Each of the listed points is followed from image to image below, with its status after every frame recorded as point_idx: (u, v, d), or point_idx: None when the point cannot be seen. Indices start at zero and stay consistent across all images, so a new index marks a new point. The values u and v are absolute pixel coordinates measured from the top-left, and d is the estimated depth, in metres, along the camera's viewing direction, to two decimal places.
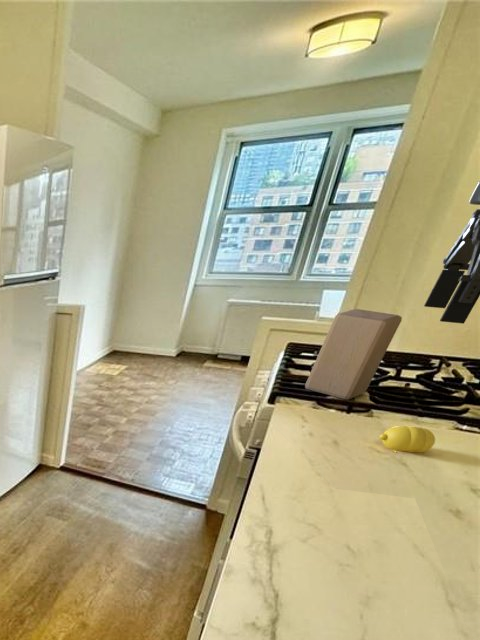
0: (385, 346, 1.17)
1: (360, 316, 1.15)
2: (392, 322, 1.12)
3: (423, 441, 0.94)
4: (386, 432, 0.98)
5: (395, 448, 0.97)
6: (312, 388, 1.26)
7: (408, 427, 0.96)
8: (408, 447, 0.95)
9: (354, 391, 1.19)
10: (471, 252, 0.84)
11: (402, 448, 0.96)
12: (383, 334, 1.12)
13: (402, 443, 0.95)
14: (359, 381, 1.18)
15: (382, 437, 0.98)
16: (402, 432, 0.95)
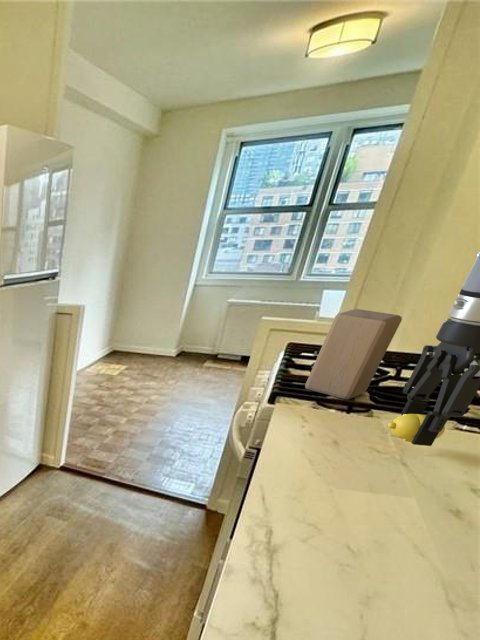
0: (385, 346, 1.17)
1: (360, 316, 1.15)
2: (392, 322, 1.12)
3: None
4: (394, 421, 0.96)
5: (404, 437, 0.95)
6: (312, 388, 1.26)
7: (417, 415, 0.94)
8: None
9: (354, 391, 1.19)
10: (434, 383, 0.93)
11: (411, 436, 0.94)
12: (383, 334, 1.12)
13: (411, 431, 0.94)
14: (359, 381, 1.18)
15: (391, 426, 0.96)
16: (411, 420, 0.94)
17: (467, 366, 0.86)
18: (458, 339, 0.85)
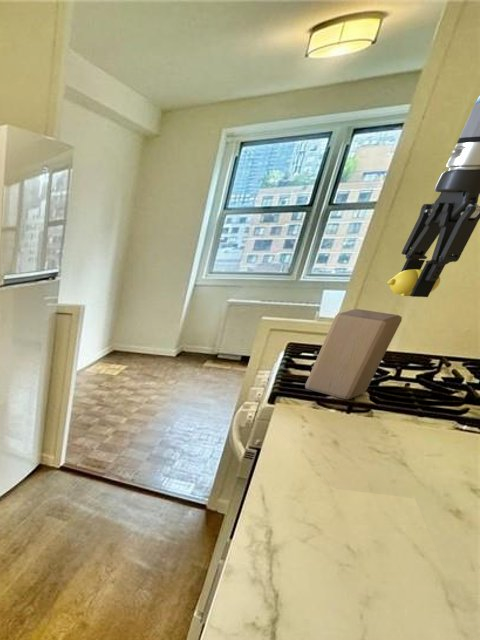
0: (385, 346, 1.17)
1: (360, 316, 1.15)
2: (392, 322, 1.12)
3: None
4: (394, 277, 1.03)
5: (403, 291, 1.02)
6: (312, 388, 1.26)
7: (415, 269, 1.01)
8: None
9: (354, 391, 1.19)
10: (432, 238, 1.00)
11: (409, 290, 1.01)
12: (383, 334, 1.12)
13: (409, 284, 1.01)
14: (359, 381, 1.18)
15: (390, 282, 1.03)
16: (409, 274, 1.01)
17: (463, 212, 0.93)
18: (455, 185, 0.92)
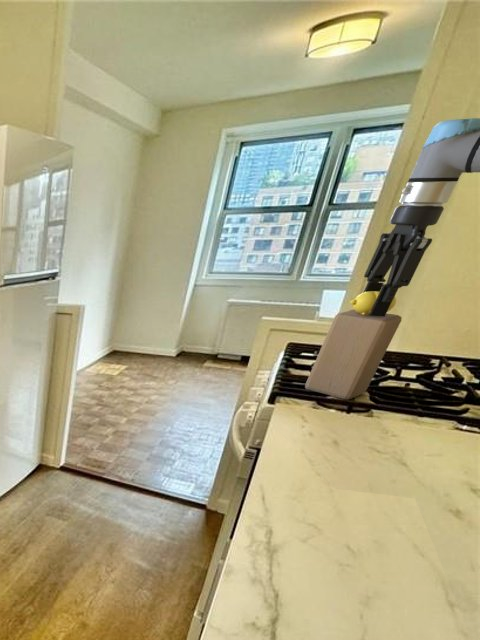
0: (385, 346, 1.17)
1: (360, 316, 1.15)
2: (392, 322, 1.12)
3: None
4: (356, 298, 1.16)
5: (363, 310, 1.15)
6: (312, 388, 1.26)
7: (374, 291, 1.14)
8: None
9: (354, 391, 1.19)
10: (389, 264, 1.13)
11: (369, 309, 1.14)
12: (383, 334, 1.12)
13: (368, 304, 1.14)
14: (359, 381, 1.18)
15: (352, 302, 1.16)
16: (368, 295, 1.14)
17: (413, 243, 1.06)
18: (406, 219, 1.05)
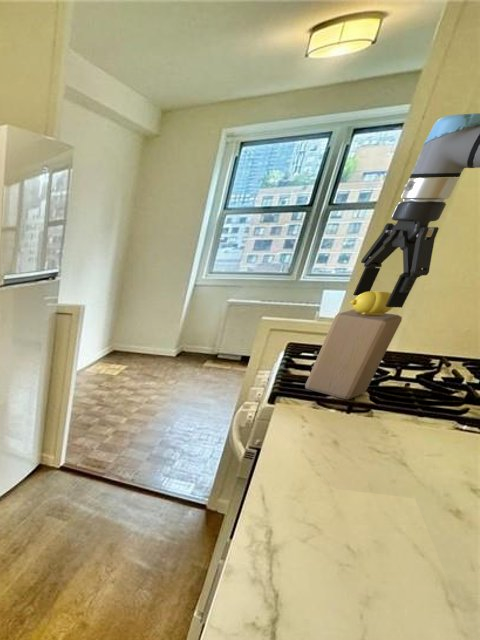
0: (385, 346, 1.17)
1: (360, 316, 1.15)
2: (392, 322, 1.12)
3: (385, 301, 1.12)
4: (356, 298, 1.16)
5: (363, 310, 1.15)
6: (312, 388, 1.26)
7: (373, 291, 1.14)
8: (374, 307, 1.14)
9: (354, 391, 1.19)
10: (386, 254, 1.14)
11: (369, 309, 1.14)
12: (383, 334, 1.12)
13: (369, 304, 1.14)
14: (359, 381, 1.18)
15: (352, 302, 1.16)
16: (368, 295, 1.14)
17: (415, 239, 1.06)
18: (408, 215, 1.04)
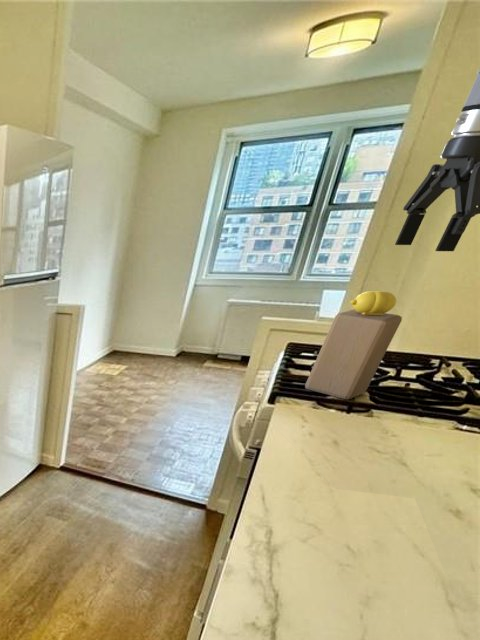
0: (385, 346, 1.17)
1: (360, 316, 1.15)
2: (392, 322, 1.12)
3: (386, 301, 1.12)
4: (356, 298, 1.16)
5: (363, 310, 1.15)
6: (312, 388, 1.26)
7: (374, 291, 1.14)
8: (374, 307, 1.14)
9: (354, 391, 1.19)
10: (433, 198, 1.07)
11: (369, 309, 1.14)
12: (383, 334, 1.12)
13: (369, 304, 1.14)
14: (359, 381, 1.18)
15: (352, 302, 1.16)
16: (368, 295, 1.14)
17: (468, 176, 0.99)
18: (460, 151, 0.98)
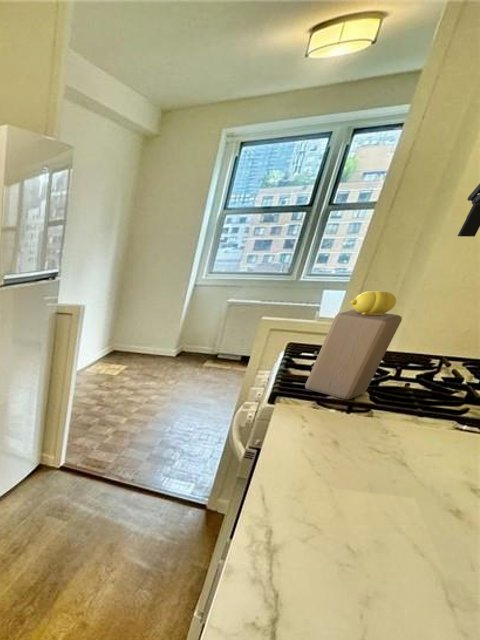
0: (385, 346, 1.17)
1: (360, 316, 1.15)
2: (392, 322, 1.12)
3: (386, 301, 1.12)
4: (356, 298, 1.16)
5: (363, 310, 1.15)
6: (312, 388, 1.26)
7: (374, 291, 1.14)
8: (374, 307, 1.14)
9: (354, 391, 1.19)
10: None
11: (369, 309, 1.14)
12: (383, 334, 1.12)
13: (369, 304, 1.14)
14: (359, 381, 1.18)
15: (352, 302, 1.16)
16: (369, 295, 1.14)
17: None
18: None
